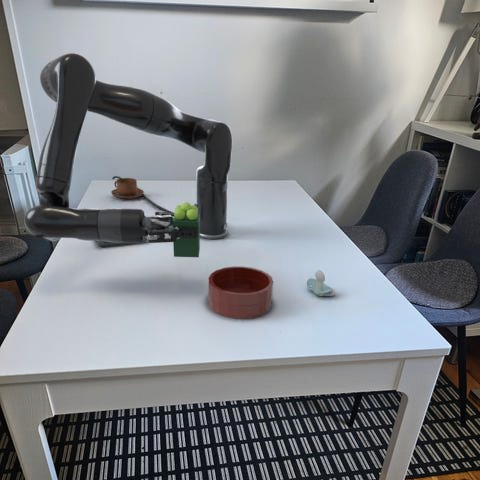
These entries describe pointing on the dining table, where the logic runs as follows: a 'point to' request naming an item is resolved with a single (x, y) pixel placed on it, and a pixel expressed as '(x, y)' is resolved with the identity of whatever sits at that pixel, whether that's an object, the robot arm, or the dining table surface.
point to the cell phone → (112, 243)
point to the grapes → (187, 218)
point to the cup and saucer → (126, 189)
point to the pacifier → (319, 285)
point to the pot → (240, 292)
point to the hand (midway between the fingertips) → (197, 227)
